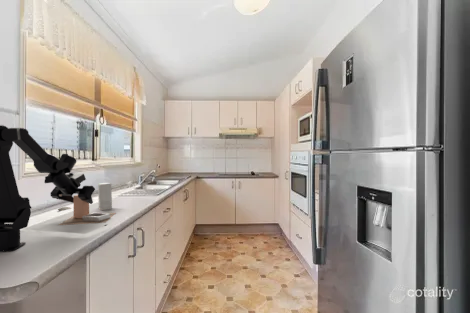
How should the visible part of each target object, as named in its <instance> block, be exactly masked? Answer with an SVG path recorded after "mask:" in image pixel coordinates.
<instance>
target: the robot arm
mask: <svg viewBox="0 0 470 313" xmlns="http://www.w3.org/2000/svg"><path fill="white" fill-rule="evenodd" d="M14 144H15V145H17V147H18V148H19V149H20V150H22V151H23V153H25V154H26V155H27V156H28V157H29V158H30V160H32V161H33V167H34V168H35V170H37V172H38V173H39V174H48V175H46V176H45V177H44V184H53V185H54V186H55V187H54V188H53V189H52V190H51V192H50V197H51V198H52V199H57V200H60V201H64V202H68V203H72V204H74V194H75V195H78V197H79V198H80V199H81V200H82V201H85V202H87V203H89V205H92V204H93V203H94V201H93V200H94V199H93V197H92V195H93V194H94V192H95V191H96V187H94V186H93V185H83V186H82V188H80V187H81V183H83V182H84V181H86V180H87V179H86V176H85V173H84V172H74V173H73V172H72V170H73V168H74V167H75V165H76V163H77V159H76V158H75V157H73V156H71V155H69V154H68V153H62V154H61V156H60V157H59V158H58V157H57V156H56V155H54V154H53V155H52V154H50V153H48V152H47V151H46V150H45V149H44V148H43V147H42V146H41V145H40V144H39V143H38V142H37V141H36V140H35V139H34V138H33V136H32V135H31V134H29V131H28V129H26V128H24V127H7V126H6V125H2V124H1V125H0V252H1V253H2V252H13V251H16V250H17V249H20V248H21V247H23V246H24V245H26V242H24V241H23V242H21V230H22V229H25V228H27V227H28V225H29V221H30V218H31V214H32V212H31V209H32V206H31V203H30V199H29V197H22V196H21V195H20V193H19V188H18V184H17V180H16V176H15V172H14V168H13V164H12V160H11V156H10V151H11V149H12V147H13V145H14Z"/></svg>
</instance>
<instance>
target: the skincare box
mask: <svg viewBox="0 0 470 313" xmlns="http://www.w3.org/2000/svg"><path fill="white" fill-rule="evenodd" d="M97 189H98V193H97V195H98V199H97V200H98V209H99V210H100V211H105V210H113V203H112V202H113V200H112V198H113V197H112V195H113V194H112V183H110V182H101V183H97Z"/></svg>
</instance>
